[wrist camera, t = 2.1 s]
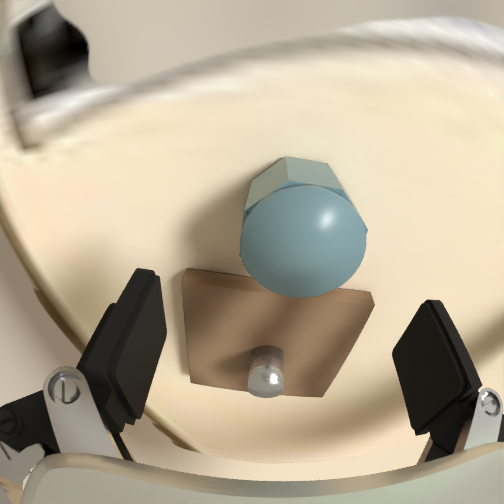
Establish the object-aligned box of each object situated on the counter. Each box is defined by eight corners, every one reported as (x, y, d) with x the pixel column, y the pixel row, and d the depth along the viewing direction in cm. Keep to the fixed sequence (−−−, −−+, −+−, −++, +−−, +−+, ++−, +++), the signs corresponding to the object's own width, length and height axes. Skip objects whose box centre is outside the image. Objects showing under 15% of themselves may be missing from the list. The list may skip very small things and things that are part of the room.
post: (286, 347, 23) (286, 382, 20) (280, 365, 24) (279, 399, 21) (252, 343, 23) (249, 378, 20) (249, 362, 24) (245, 395, 21)
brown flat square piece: (370, 291, 21) (374, 305, 19) (321, 385, 28) (322, 397, 27) (187, 268, 21) (181, 281, 20) (193, 371, 28) (190, 382, 27)
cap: (355, 169, 16) (381, 201, 12) (332, 253, 19) (345, 302, 15) (255, 152, 16) (246, 179, 12) (244, 240, 19) (235, 289, 15)
